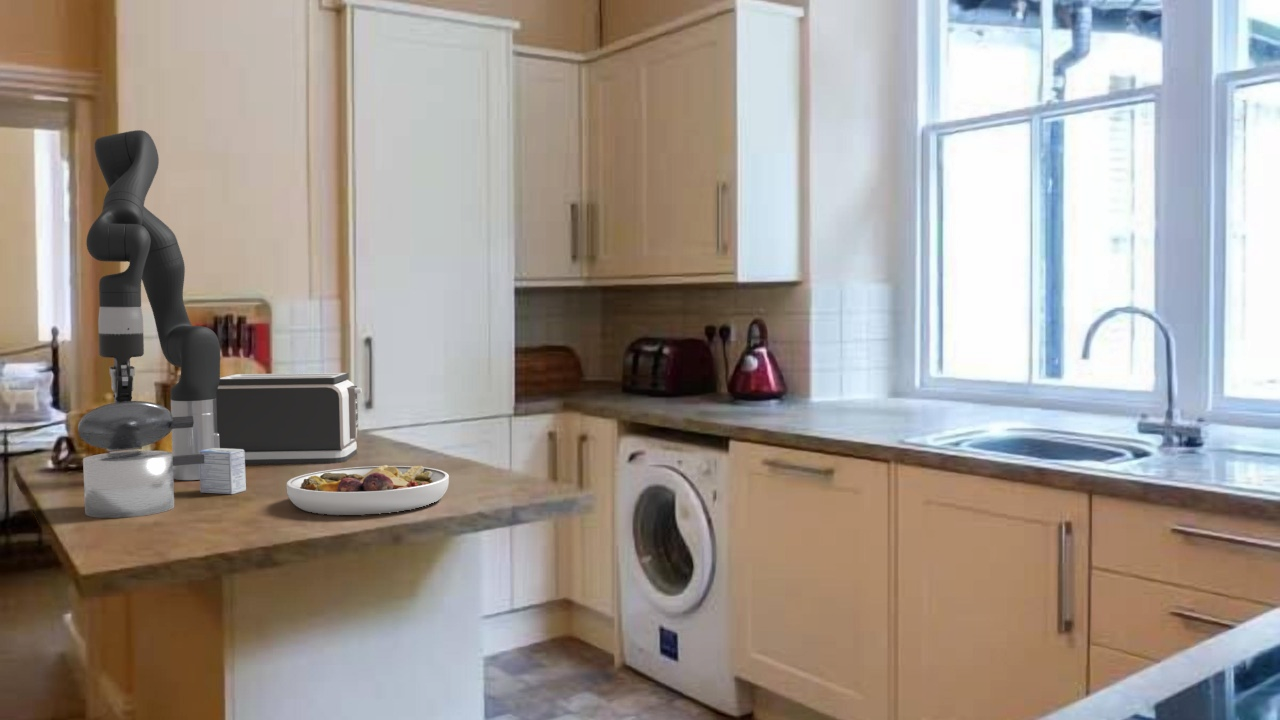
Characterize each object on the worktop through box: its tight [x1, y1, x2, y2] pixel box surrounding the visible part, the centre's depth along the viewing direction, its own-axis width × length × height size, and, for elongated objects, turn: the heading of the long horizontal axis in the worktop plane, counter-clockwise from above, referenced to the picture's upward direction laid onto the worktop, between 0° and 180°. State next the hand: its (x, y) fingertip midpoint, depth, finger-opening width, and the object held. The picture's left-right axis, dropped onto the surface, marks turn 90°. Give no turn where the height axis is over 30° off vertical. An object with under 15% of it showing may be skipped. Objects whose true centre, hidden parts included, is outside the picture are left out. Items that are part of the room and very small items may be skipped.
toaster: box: [216, 372, 363, 466], centre depth 262 cm, size 19×35×20 cm, turn 94°
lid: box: [77, 400, 194, 452], centre depth 201 cm, size 20×17×3 cm
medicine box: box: [199, 448, 247, 495], centre depth 217 cm, size 8×4×9 cm, turn 71°
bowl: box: [286, 464, 450, 516], centre depth 204 cm, size 30×30×8 cm
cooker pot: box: [82, 449, 204, 519], centre depth 201 cm, size 20×17×10 cm
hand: (123, 423), depth 200 cm, fingers closed
